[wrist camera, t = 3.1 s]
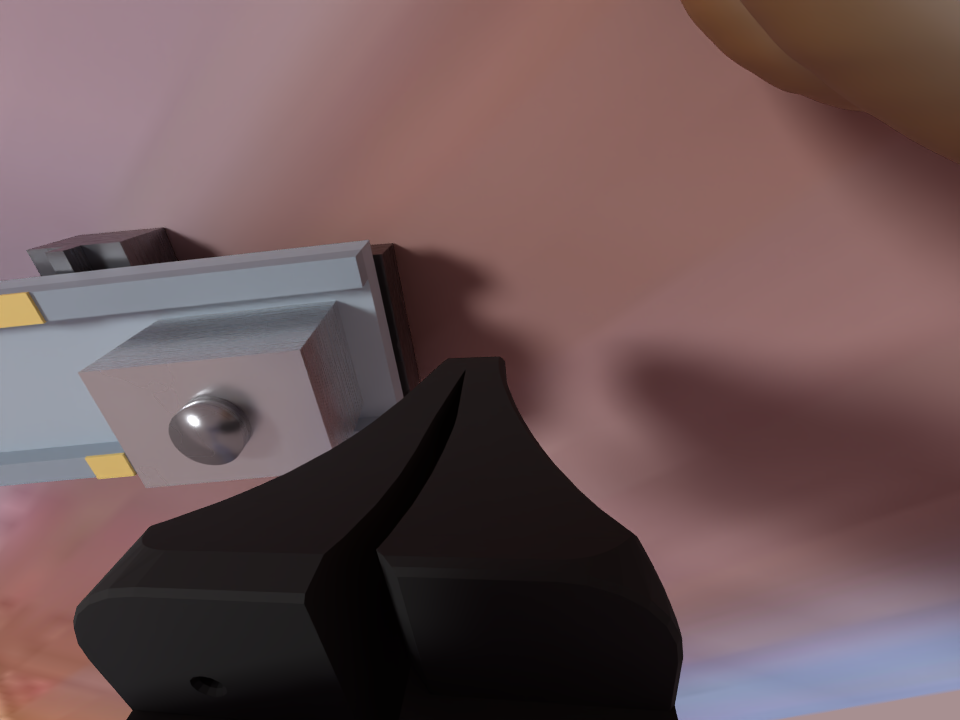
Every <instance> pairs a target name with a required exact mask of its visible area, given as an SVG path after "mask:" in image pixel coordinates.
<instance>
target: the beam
mask: <svg viewBox="0 0 960 720" xmlns="http://www.w3.org/2000/svg"><path fill="white" fill-rule="evenodd" d="M335 300H336V301H337V305H338V309H339V313H340V316H341V320H342V324H343V327H344V331H345V335H346V339H347V342H348V346H349V350H350V354H351V357H352V361H353V365H354V368H355V372H356V376H357V380H358V383H359V387H360V391H361V394H362V398H363V402H364V406H363V408H362V411H361V414H360V416H359V419H358V421H357V424H356V427H355V429H354V432H353V435H355V434H356V433H358V432H359V431H361V430H362V429H364V428H365V427H366V426H368V425H369V424H371V423H372V422H373V421H375V420H376V419H377V418H379V417H380V416H381V415H382V414H384V413H385V412H386V411H387V410H389V409H390V408H391V407H392V406H394V405H395V404H396V403H398V402H399V401H400V400H401V399H403V398H404V397H403V392H402V388H401V383H400V379H399V374H398V370H397V365H396V360H395V356H394V351H393V347H392V342H391V338H390V333H389V328H388V324H387V319H386V315H385V310H384V306H383V301H382V296H381V292H380V287H379V283H378V278H377V274H376V269H375V264H374V260H373V255H372V251H371V246H370V242H369V240H364V241H355V242H346V243H337V244H328V245H319V246H310V247H301V248H292V249H283V250H274V251H265V252H256V253H247V254H238V255H229V256H220V257H211V258H202V259H193V260H184V261H175V262H166V263H157V264H148V265H139V266H130V267H121V268H112V269H103V270H94V271H85V272H76V273H67V274H58V275H49V276H40V277H31V278H22V279H13V280H4V281H0V486H6V485H17V484H28V483H38V482H49V481H60V480H71V479H82V478H92V477H97V479H105V478H115V477H126V476H135V475H136V474H137V472H136V470H135V468H134V467H133V465H132V463H131V462H130V460H129V458H128V457H127V455H126V453H125V452H124V450H123V448H122V447H121V445H120V443H119V442H118V440H117V438H116V436H115V435H114V433H113V431H112V430H111V428H110V426H109V425H108V423H107V421H106V420H105V418H104V416H103V415H102V413H101V411H100V409H99V408H98V406H97V404H96V403H95V401H94V399H93V398H92V396H91V394H90V393H89V391H88V389H87V388H86V386H85V384H84V383H83V381H82V379H81V377H80V376H79V374H78V372H80V371H81V370H83V369H84V368H86V367H87V366H89V365H90V364H92V363H93V362H95V361H96V360H98V359H99V358H101V357H102V356H104V355H105V354H107V353H108V352H110V351H111V350H113V349H115V348H116V347H118V346H119V345H121V344H122V343H124V342H125V341H127V340H128V339H130V338H131V337H133V336H134V335H136V334H137V333H139V332H140V331H142V330H143V329H145V328H146V327H148V326H149V325H151V324H153V323H154V322H156V321H157V320H159V319H165V318H175V317H184V316H194V315H203V314H212V313H222V312H231V311H241V310H250V309H260V308H269V307H278V306H288V305H297V304H307V303H316V302H325V301H335ZM353 435H352V436H353Z"/></svg>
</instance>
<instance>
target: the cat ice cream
mask: <svg viewBox="0 0 960 720" xmlns="http://www.w3.org/2000/svg"><path fill="white" fill-rule="evenodd" d="M681 2H682V4H683V6H684V8H685V10H686V11H687V13H688V15H689V16H690V18H691V19H692V20H693V22H694V23H695V24H696V25H697V26H698V27H699V28H700V29H701V30H702V31H703V32H704V34H705V35H706V36H707V37H708V38H709V39H710V40H711V41H712V42H713V43H714V44H715V45H716V46H717V47H718V48H719V49H720V50H721V51H722V52H723V53H724V54H725V55H726V56H728V57H729V58H730V59H732V60H733V61H734V62H736V63H737V64H739V65H740V66H742V67H743V68H745V69H747V70H749V71H750V72H752V73H754V74H755V75H757V76H758V77H760V78H761V79H763V80H764V81H766V82H768V83H769V84H771V85H773V86H775V87H777V88H779V89H781V90H783V91H787V92H790V93H795V94H800V95H803V96H806V97H808V98H811V99H813V100H816V101H818V102H821V103H824V104H827V105H830V106H834V107H837V108H841V109H846V110H853V111H863V112H866V113H868V114H870V115H872V116H874V117H875V118H877V119H879V120H880V121H882V122H883V123H885V124H887V125H888V126H890V127H891V128H893V129H894V130H896V131H898V132H899V133H901V134H902V135H904V136H906V137H907V138H909V139H911V140H913V141H914V142H916V143H918V144H920V145H922V146H924V147H925V148H927V149H929V150H931V151H933V152H935V153H937V154H939V155H941V156H943V157H945V158H947V159H949V160H951V161H953V162H955V163H958V164H960V0H681Z"/></svg>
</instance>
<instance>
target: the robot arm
mask: <svg viewBox="0 0 960 720" xmlns="http://www.w3.org/2000/svg"><path fill="white" fill-rule="evenodd" d="M73 623H74V630H75V634H76V638H77V641H78V644H79V646H80V647H81V649H82V650H83V652H84V653H85V654H86V656H87V657H88V659H89V660H90V661H91V662H92V664H93V665H94V666H95V667H96V668H97V669H98V671H99V672H100V673H101V674H102V675H103V676H104V677H105V679H106V680H107V681H108V682H109V683H110V684H111V686H112V687H113V688H114V689H115V690H116V691H117V692H118V694H119V695H120V696H121V697H122V698H123V699H124V701H125V702H126V703H127V704H128V705H129V706H130V707H131V709H132V710H133V711H132V712H131V714H130V715H129V717H128V718H127V720H678V718H677V714H676V709H675V700H676V695H677V689H678V683H679V678H680V672H681V666H682V661H683V647H682V636H681V632H680V629H679V626H678V622H677V619H676V617H675V614H674V611H673V609H672V606H671V604H670V601H669V599H668V597H667V594H666V592H665V589H664V587H663V585H662V583H661V581H660V579H659V577H658V575H657V573H656V571H655V569H654V566H653V564H652V563H651V561H650V559H649V557H648V555H647V553H646V552H645V550H644V548H643V546H642V544H641V543H640V541H639V539H638V537H637V536H636V535H634V534H633V533H632V532H631V531H629V530H628V529H626V528H625V527H624V526H622V525H621V524H620V523H618V522H617V521H616V520H614V519H613V518H612V517H610V516H609V515H608V514H606V513H605V512H604V511H602V510H601V509H600V508H599V507H597V506H596V505H595V504H594V503H593V502H592V501H591V500H590V499H589V498H587V497H586V496H585V495H584V494H583V493H582V492H581V491H580V490H579V489H578V488H577V487H576V486H575V485H574V484H573V483H572V482H571V481H570V480H569V479H568V478H567V477H566V476H565V475H564V473H563V472H562V471H561V470H560V469H559V468H558V467H557V466H556V465H555V464H554V463H553V462H552V460H551V459H550V458H549V456H548V455H547V454H546V453H545V451H544V450H543V449H542V448H541V446H540V445H539V443H538V442H537V441H536V439H535V438H534V436H533V435H532V433H531V432H530V430H529V428H528V427H527V425H526V423H525V422H524V420H523V418H522V416H521V414H520V413H519V411H518V409H517V407H516V405H515V402H514V400H513V398H512V395H511V393H510V390H509V388H508V385H507V378H506V367H505V361H504V360H503V359H502V358H501V357H475V358H449V359H447V360H445V361H444V362H443V363H442V364H441V365H439V366H438V367H437V368H436V369H435V370H434V371H433V372H432V373H431V374H430V375H428V376H427V377H426V378H425V379H424V380H423V381H422V382H421V383H420V384H418V385H417V386H416V387H415V388H414V389H413V390H412V391H411V392H409V393H408V394H407V395H406V396H405V397H404V398H403V399H401V400H400V401H399V402H398V403H396V404H395V405H394V406H392V407H391V408H390V409H389V410H387V411H386V412H385V413H384V414H382V415H381V416H380V417H379V418H377V419H376V420H375V421H373V422H372V423H371V424H369V425H368V426H366V427H365V428H364V429H362V430H361V431H359V432H358V433H356V434H355V435H353V436H352V437H350V438H348V439H347V440H345V441H344V442H342V443H341V444H339V445H337V446H336V447H334V448H332V449H331V450H329V451H327V452H325V453H323V454H321V455H320V456H318V457H316V458H314V459H312V460H310V461H308V462H307V463H305V464H303V465H301V466H299V467H297V468H295V469H293V470H292V471H290V472H288V473H286V474H284V475H281V476H279V477H277V478H275V479H273V480H271V481H268V482H266V483H264V484H262V485H260V486H257V487H255V488H252V489H250V490H248V491H245V492H243V493H241V494H238V495H236V496H233V497H231V498H228V499H226V500H223V501H221V502H218V503H215V504H213V505H210V506H207V507H204V508H201V509H199V510H196V511H193V512H190V513H187V514H185V515H182V516H179V517H176V518H173V519H171V520H168V521H165V522H162V523H159V524H155V525H152V526H150V527H149V528H148V529H147V530H146V531H145V533H144V534H143V535H142V536H141V537H140V538H139V539H138V540H137V541H136V542H135V544H134V545H133V546H132V547H131V548H130V549H129V550H128V551H127V552H126V553H125V554H124V556H123V557H122V558H121V559H120V560H119V561H118V562H117V563H116V564H115V565H114V567H113V568H112V569H111V570H110V571H109V572H108V573H107V574H106V575H105V576H104V577H103V579H102V580H101V581H100V582H99V583H98V584H97V585H96V586H95V587H94V588H93V590H92V591H91V592H90V593H89V594H88V595H87V596H86V597H85V598H84V599H83V600H82V602H81V603H80V604H79V605H78V606H77V608H76V612H75V616H74V620H73Z"/></svg>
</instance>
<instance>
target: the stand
mask: <svg viewBox="0 0 960 720" xmlns="http://www.w3.org/2000/svg"><path fill="white" fill-rule="evenodd" d="M370 246H371V251H372V255H373V260H374V264H375V269H376V274H377V278H378V283H379V287H380V292H381V296H382V301H383V306H384V310H385V315H386V319H387V324H388V328H389V333H390V338H391V342H392V347H393V351H394V356H395V360H396V365H397V370H398V374H399V379H400V383H401V388H402V392H403V397H405V396H406V395H407V394H408V393H409V392H411V391H412V390H413V389H414V388H415V387H416V386H417V385H418V384H419V382H420V380H419V375H418V370H417V365H416V360H415V354H414V349H413V344H412V339H411V334H410V329H409V324H408V319H407V314H406V308H405V303H404V298H403V293H402V288H401V283H400V278H399V273H398V267H397V262H396V257H395V252H394V247H393V243H391V244H379V245H370ZM26 251H27V252H28V254H29V256H30V258H31V259H32V261H33V263H34V265H35V266H36V268H37V270H38V272H39V273H40V275H41V276H49V275H58V274H67V273H76V272H85V271H94V270H103V269H112V268H121V267H130V266H139V265H148V264H157V263H166V262H175V261H177V259H176V256H175V254H174V252H173V249H172V247H171V245H170V242H169V240H168V237H167V235H166V233H165V230H164V228H153V229H142V230H132V231H121V232H110V233H99V234H89V235H78V236H75V237H71V238H68V239H64V240H61V241H57V242H54V243H50V244H47V245H43V246H40V247H36V248H32V249H29V250H26Z"/></svg>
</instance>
